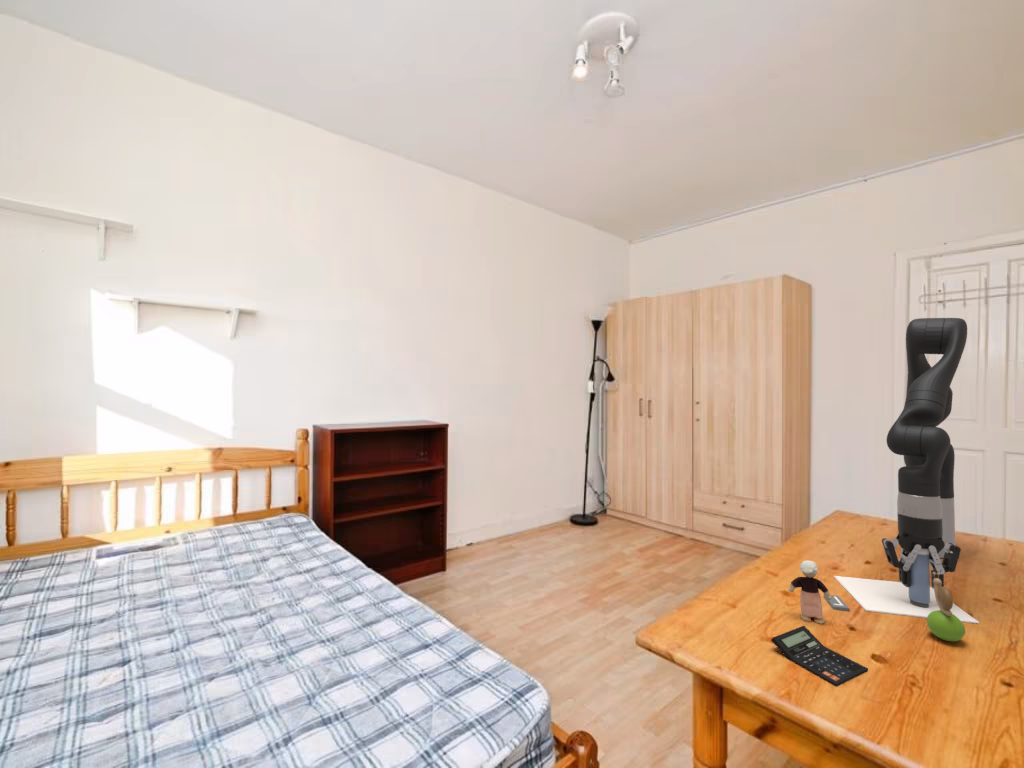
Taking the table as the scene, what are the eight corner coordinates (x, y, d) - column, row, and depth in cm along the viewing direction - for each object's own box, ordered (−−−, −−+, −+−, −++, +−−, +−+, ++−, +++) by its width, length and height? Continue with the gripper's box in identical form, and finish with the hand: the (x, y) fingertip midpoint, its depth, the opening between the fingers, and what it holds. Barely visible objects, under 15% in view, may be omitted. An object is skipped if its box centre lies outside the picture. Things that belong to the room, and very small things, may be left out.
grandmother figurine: (827, 617, 96) (825, 559, 96) (833, 626, 92) (832, 566, 92) (787, 611, 98) (785, 555, 98) (791, 620, 95) (790, 562, 95)
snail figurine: (954, 632, 89) (953, 573, 89) (971, 650, 83) (969, 587, 83) (920, 626, 91) (918, 569, 91) (934, 643, 86) (932, 582, 86)
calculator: (836, 689, 74) (836, 671, 74) (771, 651, 85) (771, 636, 85) (868, 673, 78) (867, 656, 78) (802, 639, 89) (801, 624, 89)
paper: (833, 576, 115) (833, 575, 115) (927, 586, 109) (927, 584, 109) (865, 610, 98) (865, 609, 98) (979, 624, 92) (979, 622, 92)
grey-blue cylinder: (904, 599, 102) (903, 543, 102) (924, 601, 101) (923, 544, 101) (914, 607, 99) (912, 548, 99) (934, 609, 98) (933, 550, 98)
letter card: (823, 596, 105) (823, 593, 105) (838, 598, 104) (838, 595, 104) (833, 609, 99) (833, 606, 99) (849, 611, 98) (849, 607, 98)
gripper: (947, 510, 101) (949, 583, 101) (873, 506, 106) (875, 576, 106) (970, 520, 94) (972, 599, 94) (889, 515, 98) (891, 590, 98)
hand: (921, 586), depth 100 cm, fingers open, 5 cm apart
